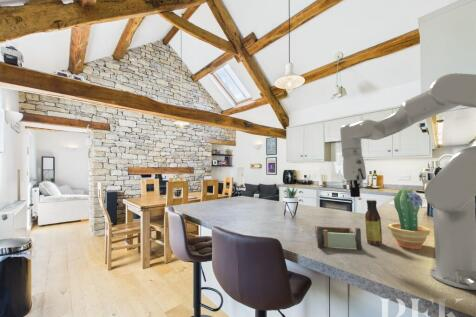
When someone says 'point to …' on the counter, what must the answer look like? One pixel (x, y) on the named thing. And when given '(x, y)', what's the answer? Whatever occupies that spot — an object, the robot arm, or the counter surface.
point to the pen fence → (320, 232)
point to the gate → (339, 240)
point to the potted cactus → (408, 220)
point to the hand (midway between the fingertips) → (355, 196)
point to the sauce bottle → (373, 224)
